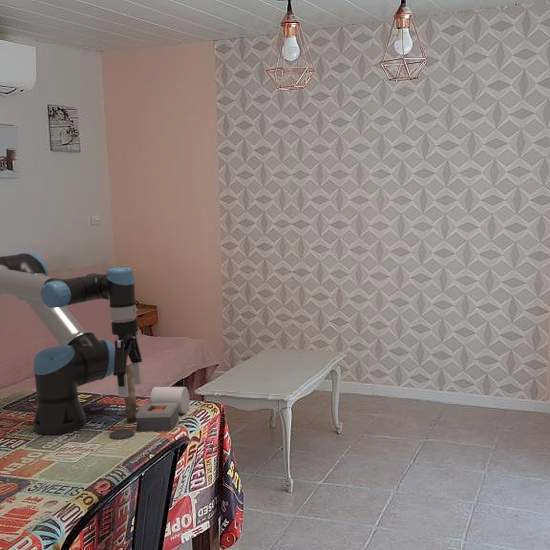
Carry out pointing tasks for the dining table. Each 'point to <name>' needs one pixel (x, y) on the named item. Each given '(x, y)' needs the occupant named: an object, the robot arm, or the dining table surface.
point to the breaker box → (157, 417)
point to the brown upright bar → (130, 396)
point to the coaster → (121, 434)
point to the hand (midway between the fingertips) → (130, 390)
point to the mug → (171, 396)
